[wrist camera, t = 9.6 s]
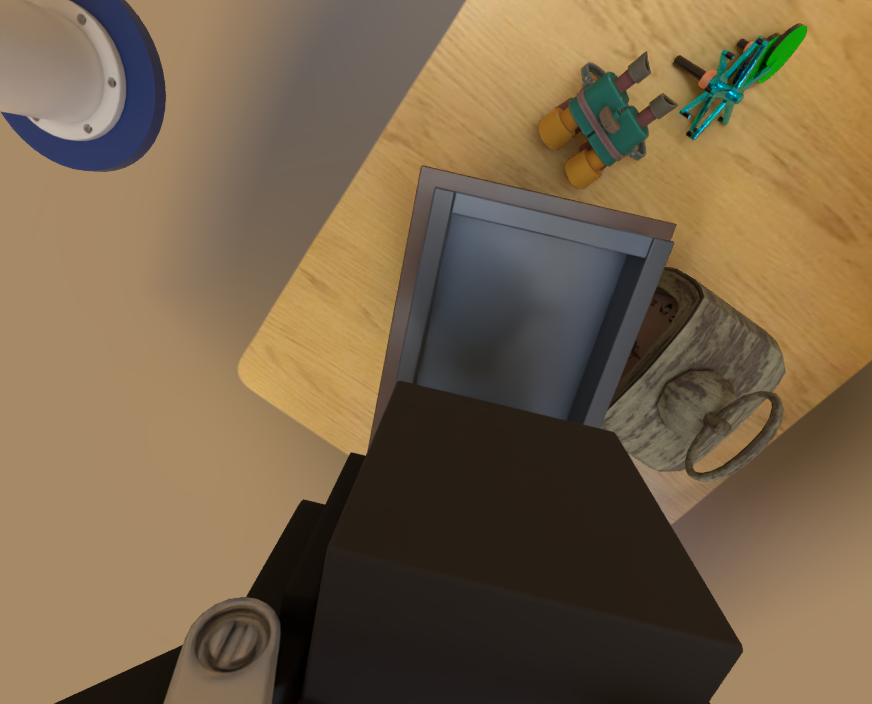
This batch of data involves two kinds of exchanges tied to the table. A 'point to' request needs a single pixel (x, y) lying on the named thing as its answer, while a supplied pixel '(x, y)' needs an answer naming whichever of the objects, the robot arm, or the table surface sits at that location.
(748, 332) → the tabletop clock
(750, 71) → the stick construction toy
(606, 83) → the binoculars
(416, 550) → the black banded block
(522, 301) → the brown and grey box
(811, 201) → the table surface
